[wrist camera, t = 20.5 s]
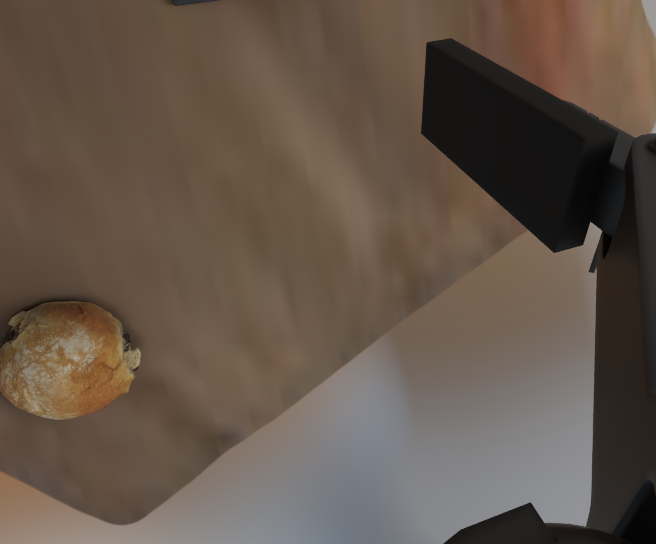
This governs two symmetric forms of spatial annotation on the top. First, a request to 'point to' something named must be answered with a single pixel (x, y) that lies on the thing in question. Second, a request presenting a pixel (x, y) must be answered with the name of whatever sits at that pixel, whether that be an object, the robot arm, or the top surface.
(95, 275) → the top surface
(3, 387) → the bread roll
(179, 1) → the mat
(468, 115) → the robot arm
